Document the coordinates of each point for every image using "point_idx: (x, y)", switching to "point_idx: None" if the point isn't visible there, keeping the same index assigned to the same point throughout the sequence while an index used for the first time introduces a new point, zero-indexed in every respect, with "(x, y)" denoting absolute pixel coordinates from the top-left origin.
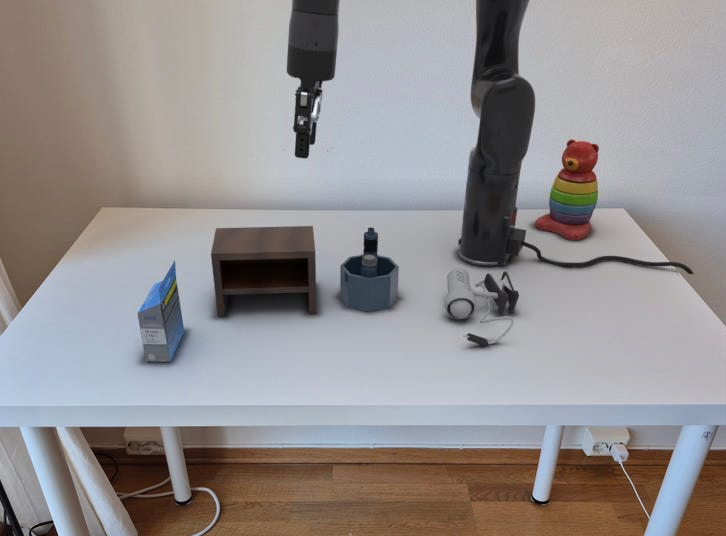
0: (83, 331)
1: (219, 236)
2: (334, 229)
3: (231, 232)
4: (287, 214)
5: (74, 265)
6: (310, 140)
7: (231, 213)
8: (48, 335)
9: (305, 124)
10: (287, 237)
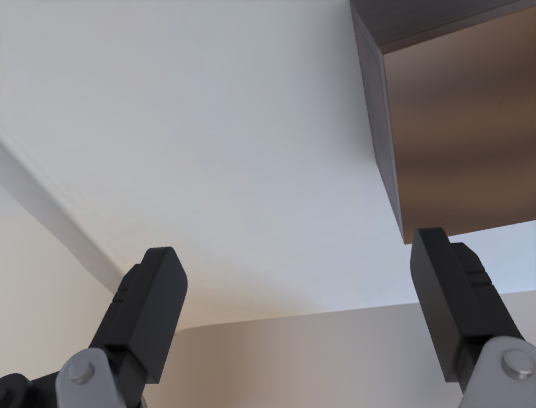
0: (493, 253)
1: (451, 229)
2: (36, 42)
3: (430, 218)
4: (40, 158)
5: (328, 307)
6: (171, 271)
7: (102, 232)
8: (496, 273)
9: (158, 360)
10: (474, 101)
